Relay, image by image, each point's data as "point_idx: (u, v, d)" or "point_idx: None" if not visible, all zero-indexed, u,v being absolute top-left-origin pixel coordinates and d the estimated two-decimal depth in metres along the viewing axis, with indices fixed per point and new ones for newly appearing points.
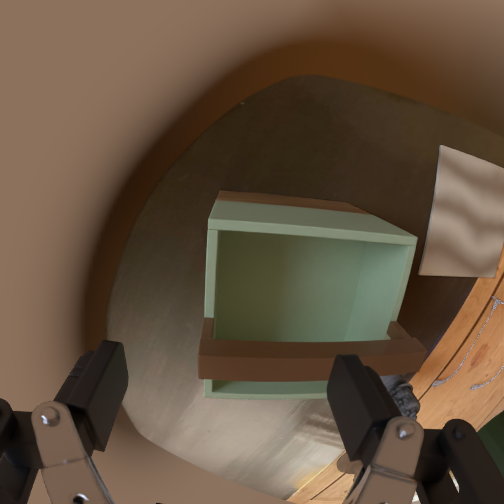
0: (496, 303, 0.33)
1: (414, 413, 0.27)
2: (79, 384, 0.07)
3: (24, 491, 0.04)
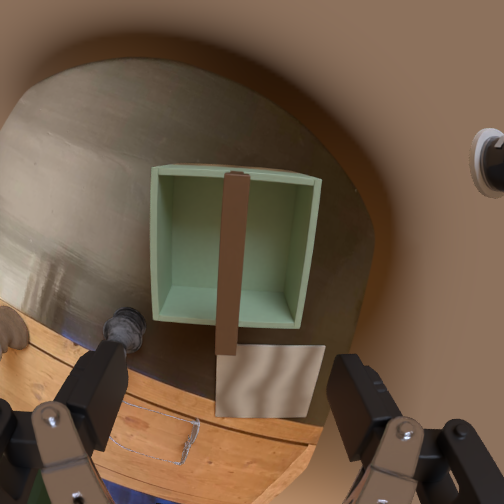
0: (197, 423, 0.44)
1: None
2: (79, 384, 0.07)
3: (24, 491, 0.04)
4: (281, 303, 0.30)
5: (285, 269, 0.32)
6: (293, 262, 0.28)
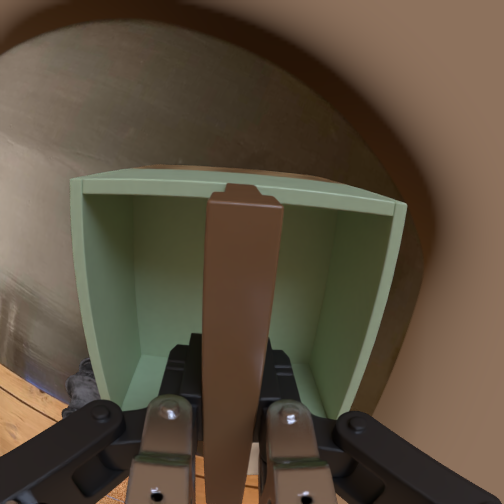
0: None
1: None
2: (186, 375, 0.09)
3: (101, 491, 0.06)
4: (308, 388, 0.18)
5: (314, 333, 0.20)
6: (332, 333, 0.17)
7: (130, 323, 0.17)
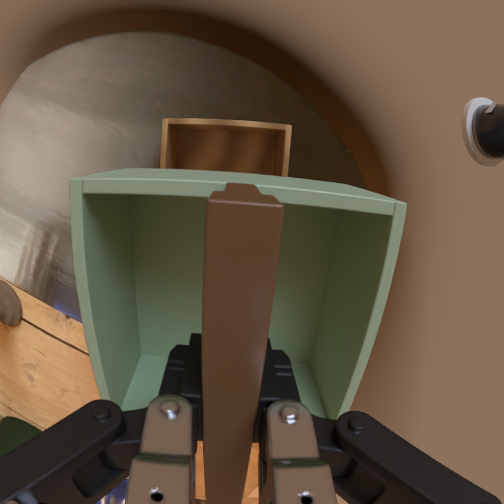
0: None
1: None
2: (186, 375, 0.09)
3: (102, 491, 0.06)
4: (308, 388, 0.18)
5: (314, 333, 0.20)
6: (332, 333, 0.17)
7: (130, 323, 0.17)
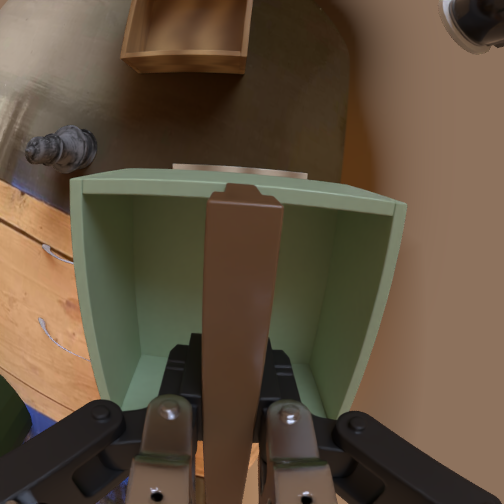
0: None
1: (32, 151, 0.22)
2: (186, 375, 0.09)
3: (101, 491, 0.06)
4: (308, 388, 0.18)
5: (314, 333, 0.20)
6: (332, 333, 0.17)
7: (130, 323, 0.17)
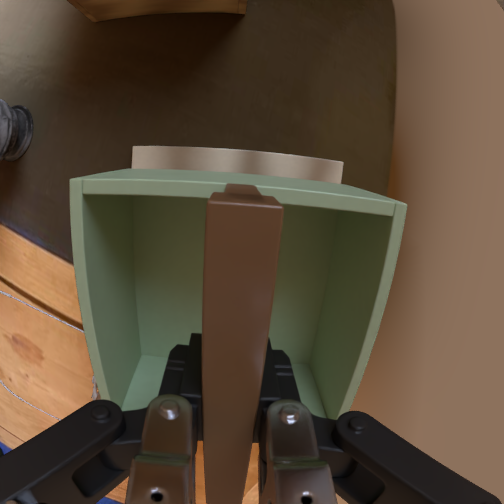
0: None
1: None
2: (186, 375, 0.09)
3: (101, 491, 0.06)
4: (308, 388, 0.18)
5: (314, 334, 0.20)
6: (332, 333, 0.17)
7: (130, 323, 0.17)
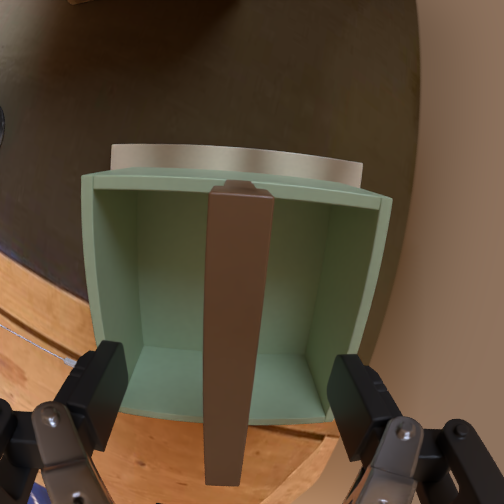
0: None
1: None
2: (79, 384, 0.07)
3: (24, 491, 0.04)
4: (303, 377, 0.19)
5: (309, 325, 0.21)
6: (325, 323, 0.18)
7: (133, 314, 0.18)
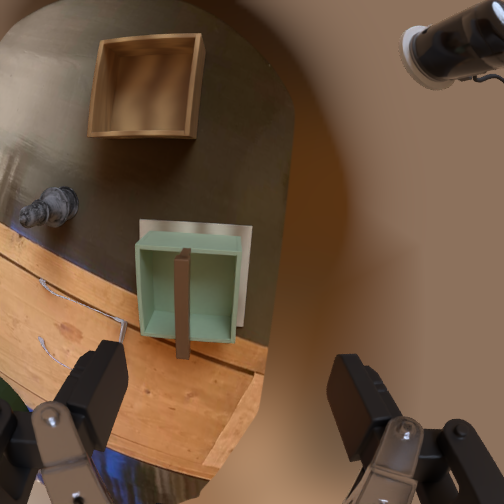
0: (120, 320, 0.43)
1: (24, 219, 0.29)
2: (79, 384, 0.07)
3: (24, 491, 0.04)
4: (226, 325, 0.43)
5: (231, 301, 0.45)
6: (232, 298, 0.42)
7: (151, 294, 0.42)
